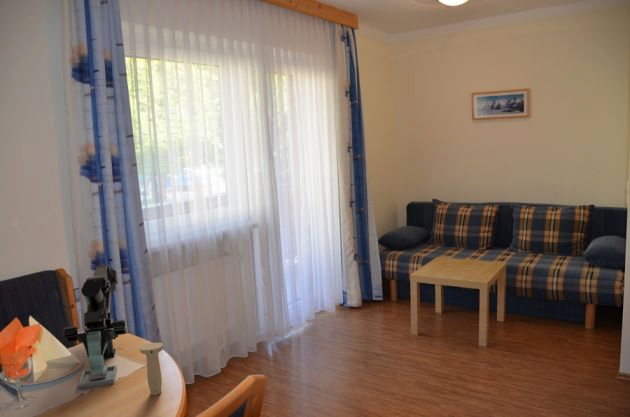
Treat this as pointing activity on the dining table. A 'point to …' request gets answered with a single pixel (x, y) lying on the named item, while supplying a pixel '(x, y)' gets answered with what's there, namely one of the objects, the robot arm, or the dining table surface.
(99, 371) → the teal green tall block
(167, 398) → the dining table surface
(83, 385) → the tray
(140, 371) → the dining table surface
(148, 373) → the handle
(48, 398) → the dining table surface
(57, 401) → the dining table surface
